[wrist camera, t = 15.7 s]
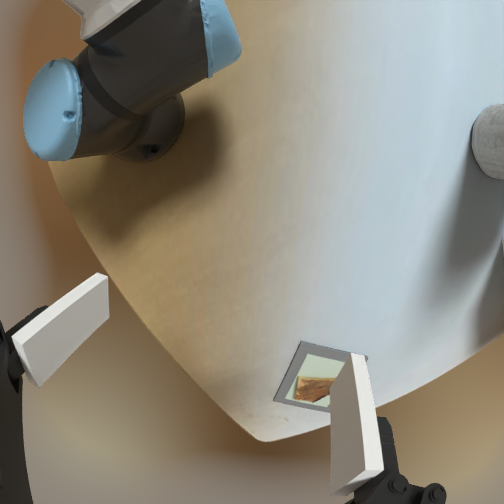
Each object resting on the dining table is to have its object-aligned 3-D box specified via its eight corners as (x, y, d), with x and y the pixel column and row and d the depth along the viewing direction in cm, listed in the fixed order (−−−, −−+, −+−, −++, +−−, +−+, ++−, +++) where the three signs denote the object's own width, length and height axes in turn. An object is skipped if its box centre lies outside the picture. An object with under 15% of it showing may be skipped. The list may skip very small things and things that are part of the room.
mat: (273, 398, 57) (273, 401, 56) (301, 340, 50) (300, 344, 49) (331, 410, 56) (331, 413, 55) (367, 356, 49) (368, 359, 48)
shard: (351, 375, 50) (352, 382, 49) (343, 399, 53) (343, 405, 51) (298, 373, 52) (297, 379, 50) (294, 397, 54) (293, 403, 53)
